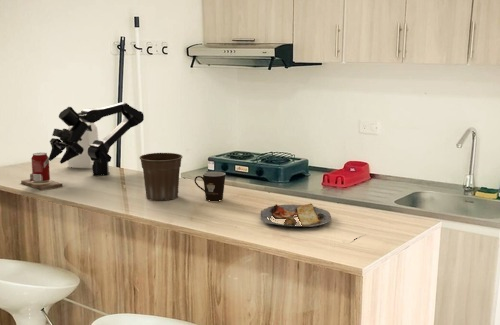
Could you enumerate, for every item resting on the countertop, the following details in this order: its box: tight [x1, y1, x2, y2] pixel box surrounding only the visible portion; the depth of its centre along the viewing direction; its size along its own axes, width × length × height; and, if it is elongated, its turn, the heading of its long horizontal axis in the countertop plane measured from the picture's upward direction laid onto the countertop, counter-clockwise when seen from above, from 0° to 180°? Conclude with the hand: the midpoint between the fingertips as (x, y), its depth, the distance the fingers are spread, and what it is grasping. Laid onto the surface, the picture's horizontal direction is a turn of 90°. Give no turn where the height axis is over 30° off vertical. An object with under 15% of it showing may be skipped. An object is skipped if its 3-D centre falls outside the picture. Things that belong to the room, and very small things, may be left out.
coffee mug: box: [193, 171, 226, 202], centre depth 213 cm, size 12×9×10 cm
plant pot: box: [139, 152, 183, 202], centre depth 214 cm, size 16×16×16 cm
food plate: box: [260, 203, 333, 228], centre depth 187 cm, size 25×23×4 cm
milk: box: [67, 119, 99, 169], centre depth 275 cm, size 12×12×26 cm
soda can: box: [30, 152, 51, 183], centre depth 234 cm, size 7×7×12 cm
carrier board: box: [20, 173, 64, 191], centre depth 235 cm, size 18×9×4 cm, turn 48°
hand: (54, 161), depth 238 cm, fingers open, 9 cm apart
